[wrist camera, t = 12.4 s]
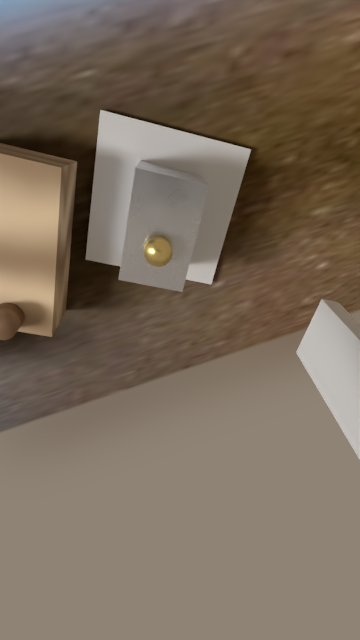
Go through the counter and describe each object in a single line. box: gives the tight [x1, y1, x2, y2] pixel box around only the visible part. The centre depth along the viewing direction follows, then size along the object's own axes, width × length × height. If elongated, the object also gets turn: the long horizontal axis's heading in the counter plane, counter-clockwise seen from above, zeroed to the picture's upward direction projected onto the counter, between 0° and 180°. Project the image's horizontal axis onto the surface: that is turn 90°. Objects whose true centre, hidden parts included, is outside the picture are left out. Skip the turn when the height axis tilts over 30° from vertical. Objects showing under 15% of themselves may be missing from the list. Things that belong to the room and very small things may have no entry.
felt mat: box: [85, 110, 251, 284], centre depth 30 cm, size 12×12×1 cm
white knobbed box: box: [118, 160, 209, 292], centre depth 27 cm, size 8×5×7 cm, turn 167°
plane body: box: [0, 143, 77, 340], centre depth 28 cm, size 14×7×7 cm, turn 167°
